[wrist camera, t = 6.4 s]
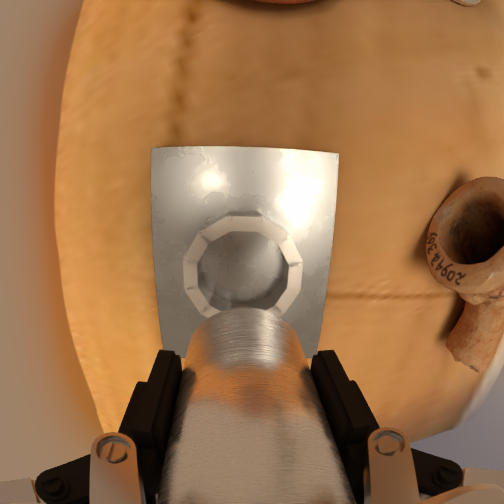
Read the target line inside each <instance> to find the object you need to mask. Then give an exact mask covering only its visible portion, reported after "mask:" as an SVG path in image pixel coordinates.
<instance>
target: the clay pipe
mask: <svg viewBox="0 0 504 504" xmlns="http://www.w3.org/2000/svg"><path fill="white" fill-rule="evenodd" d="M426 254H427V262H428V265H429V268H430V271H431V273H432V275H433V277H434V278H435V279H436V280H437V281H438V282H439V283H441V284H442V285H444V286H445V287H447V288H449V289H452V290H454V291H457V292H458V293H459V295H460V297H461V298H462V299H464V300H465V301H466V303H465V306H464V311H463V313H462V315H461V317H460V318H459V320H458V322H457V324H456V325H455V327H454V328H453V329H452V331H451V332H450V334H449V336H448V339H447V343H446V346H447V348H448V350H449V351H450V352H451V353H452V355H453V357H454V359H455V361H458V362H462V363H463V364H464V365H467V366H469V367H470V368H471V369H473V370H475V371H476V372H478V373H480V372H483V371H485V370H486V369H487V368H488V367H489V365H490V363H491V362H492V360H493V358H494V355H495V353H496V350H497V348H498V345H499V343H500V340H501V337H502V335H503V332H504V180H503V179H501V178H497V177H480V178H476V179H474V180H472V181H470V182H467V183H465V184H463V185H462V186H460V187H459V188H458V189H457V190H455V191H454V192H453V193H452V194H451V195H450V196H449V197H448V198H447V199H446V200H445V202H444V203H443V204H442V205H441V206H440V207H439V209H438V210H437V212H436V213H435V214H434V216H433V218H432V221H431V223H430V226H429V230H428V233H427V241H426Z"/></svg>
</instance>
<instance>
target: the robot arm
mask: <svg viewBox="0 0 504 504" xmlns="http://www.w3.org/2000/svg"><path fill="white" fill-rule="evenodd" d="M453 1H455V2H457V3H459V4H462V5H465V6H473V5H475V4H477V3H479V2H480V0H453ZM310 372H311V374H312V377H313V380H314V383H315V386H316V388H317V391H318V394H319V397H320V400H321V402H322V405H323V408H324V411H325V414H326V417H327V419H328V422H329V425H330V428H331V431H332V434H333V437H334V439H335V442H336V445H337V448H338V451H339V454H340V457H341V460H342V463H343V466H344V469H345V471H346V474H347V477H348V480H349V483H350V486H351V489H352V492H353V495H354V498H355V501H356V504H504V471H501V470H488V469H477V468H469V467H465V468H464V469H463V470H462V469H461V468H460V466H459V465H458V464H457V463H455V462H453V461H451V460H447V459H444V458H440V457H437V456H434V455H431V454H428V453H425V452H421V451H418V450H416V449H413V448H411V447H410V443H409V440H408V437H407V436H406V435H405V434H404V433H403V432H402V431H400V430H398V429H395V428H391V427H384V428H380V427H379V425H378V423H377V421H376V419H375V417H374V415H373V413H372V412H371V410H370V408H369V406H368V404H367V402H366V400H365V398H364V396H363V394H362V392H361V390H360V389H359V387H358V385H357V383H356V382H355V381H354V380H352V381H349V379H348V377H347V375H346V373H345V371H344V369H343V367H342V365H341V363H340V361H339V359H338V357H337V355H336V353H335V352H334V350H324V351H318V353H317V355H313V358H312V363H311V369H310ZM181 376H182V366H181V358H180V355H175V351H171V350H159V352H158V354H157V357H156V360H155V362H154V365H153V368H152V370H151V373H150V376H149V379H148V381H147V382H141V381H139V382H137V384H136V386H135V389H134V391H133V394H132V396H131V399H130V402H129V404H128V407H127V409H126V412H125V415H124V417H123V420H122V423H121V425H120V428H119V431H118V433H116V432H111V433H105V434H103V435H100V436H99V437H98V438H96V439H95V441H94V442H93V444H92V447H91V454H89V455H86V456H84V457H81V458H79V459H76V460H74V461H71V462H68V463H66V464H63V465H60V466H57V467H54V468H52V469H49V470H46V471H44V472H42V473H41V474H40V475H39V476H38V477H37V479H36V480H32V479H31V478H27V479H20V480H13V481H5V482H0V504H157V498H158V492H159V486H160V480H161V475H162V469H163V464H164V458H165V453H166V448H167V443H168V437H169V432H170V427H171V423H172V418H173V413H174V408H175V403H176V399H177V394H178V390H179V385H180V381H181Z"/></svg>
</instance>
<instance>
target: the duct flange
mask: <svg viewBox="0 0 504 504" xmlns="http://www.w3.org/2000/svg"><path fill="white" fill-rule="evenodd" d="M338 162H339V154H338V153H329V152H319V151H308V150H296V149H282V148H265V147H237V146H185V147H158V148H152V149H151V214H152V239H153V257H154V271H155V283H156V294H157V304H158V313H159V322H160V330H161V337H162V344H163V350H171V351H175V355H180V358H186V354H187V350H188V346H189V342H190V339H191V337H192V335H193V333H194V332H195V330H196V329H197V328H198V326H199V325H200V324H201V323H202V322H204V321H205V320H206V319H208V318H209V317H211V316H213V315H214V314H217V313H219V312H221V311H225V310H228V309H233V308H243V307H248V308H257V309H263V310H266V311H269V312H272V313H274V314H276V315H278V316H279V317H281V318H283V319H284V320H285V321H286V322H288V323H289V324H290V326H291V327H292V328H293V329H294V331H295V332H296V334H297V336H298V338H299V341H300V344H301V347H302V349H303V352H304V355H305V358H313V355H316V354H317V348H318V342H319V337H320V331H321V325H322V318H323V312H324V305H325V298H326V291H327V284H328V276H329V268H330V260H331V251H332V241H333V231H334V221H335V209H336V196H337V181H338Z"/></svg>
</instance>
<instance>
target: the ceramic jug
mask: <svg viewBox="0 0 504 504" xmlns="http://www.w3.org/2000/svg"><path fill="white" fill-rule="evenodd" d="M254 1H259V2H266V3H277V4H297V3H305V2H309V1H316V0H254Z"/></svg>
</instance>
